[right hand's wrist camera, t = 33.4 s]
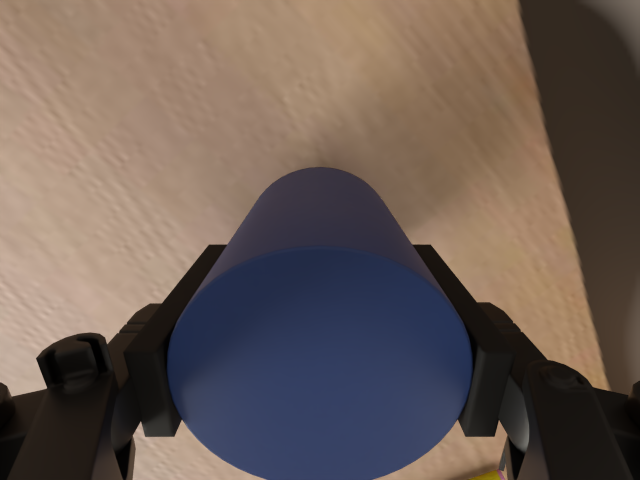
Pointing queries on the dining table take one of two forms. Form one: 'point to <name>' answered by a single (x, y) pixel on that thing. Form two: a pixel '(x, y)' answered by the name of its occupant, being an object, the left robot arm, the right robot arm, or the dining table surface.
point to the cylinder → (319, 340)
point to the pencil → (490, 476)
